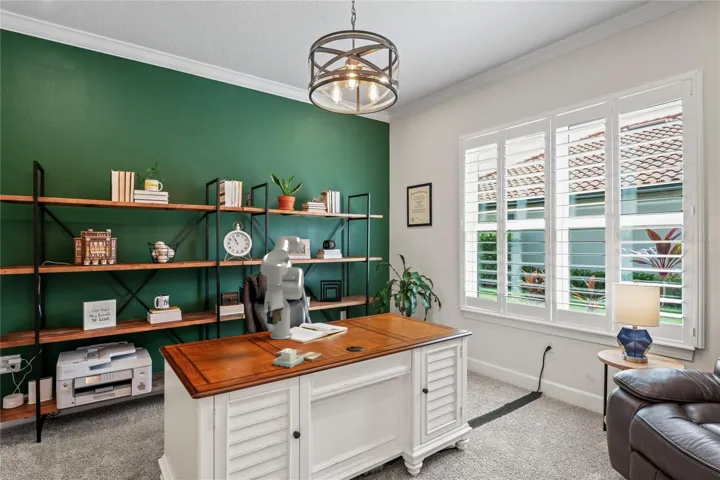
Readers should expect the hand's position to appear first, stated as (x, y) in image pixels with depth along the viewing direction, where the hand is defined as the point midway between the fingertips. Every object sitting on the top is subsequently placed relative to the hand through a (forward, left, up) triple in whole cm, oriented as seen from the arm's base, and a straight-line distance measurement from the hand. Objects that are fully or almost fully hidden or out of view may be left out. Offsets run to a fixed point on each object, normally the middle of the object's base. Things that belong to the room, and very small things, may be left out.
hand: (274, 321), depth 190 cm
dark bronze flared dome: (0, 0, -2) cm, 2 cm away
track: (+16, 0, -15) cm, 22 cm away
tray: (+17, -11, -15) cm, 25 cm away
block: (+17, -11, -14) cm, 25 cm away
